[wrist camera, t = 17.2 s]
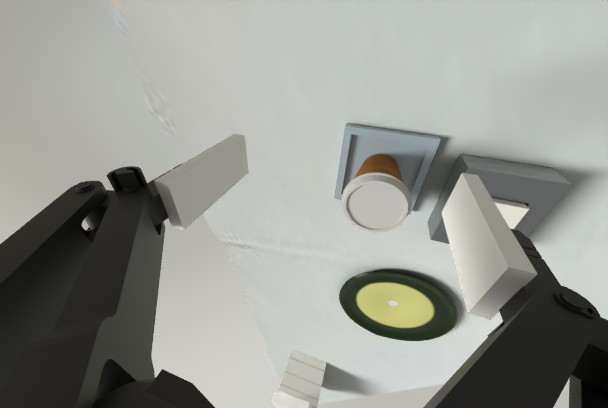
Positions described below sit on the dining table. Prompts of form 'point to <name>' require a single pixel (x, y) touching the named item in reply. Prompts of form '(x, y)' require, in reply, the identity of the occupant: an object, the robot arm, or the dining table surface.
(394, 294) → the plate
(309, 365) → the pizza boxes
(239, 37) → the dining table surface
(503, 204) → the button
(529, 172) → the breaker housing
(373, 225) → the disposable coffee cup
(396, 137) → the tray
